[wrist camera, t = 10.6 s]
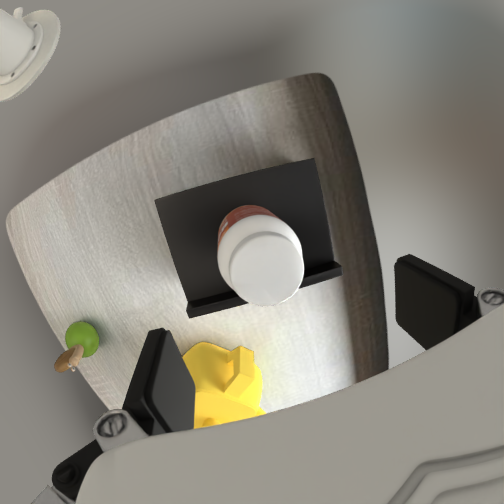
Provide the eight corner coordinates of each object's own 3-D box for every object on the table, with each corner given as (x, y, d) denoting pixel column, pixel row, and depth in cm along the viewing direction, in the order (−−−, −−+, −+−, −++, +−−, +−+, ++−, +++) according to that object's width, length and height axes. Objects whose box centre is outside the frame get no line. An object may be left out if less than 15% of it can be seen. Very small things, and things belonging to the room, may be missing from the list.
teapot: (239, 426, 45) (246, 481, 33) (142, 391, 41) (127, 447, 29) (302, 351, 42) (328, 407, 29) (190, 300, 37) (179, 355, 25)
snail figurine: (114, 335, 38) (86, 384, 26) (89, 349, 38) (60, 396, 26) (92, 306, 36) (56, 350, 25) (68, 323, 36) (32, 366, 25)
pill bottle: (213, 209, 27) (208, 230, 16) (276, 200, 27) (311, 214, 17) (223, 270, 28) (226, 324, 18) (283, 260, 29) (318, 307, 18)
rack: (168, 195, 34) (149, 201, 24) (294, 161, 34) (321, 156, 25) (196, 283, 37) (189, 318, 27) (313, 250, 38) (343, 275, 28)
